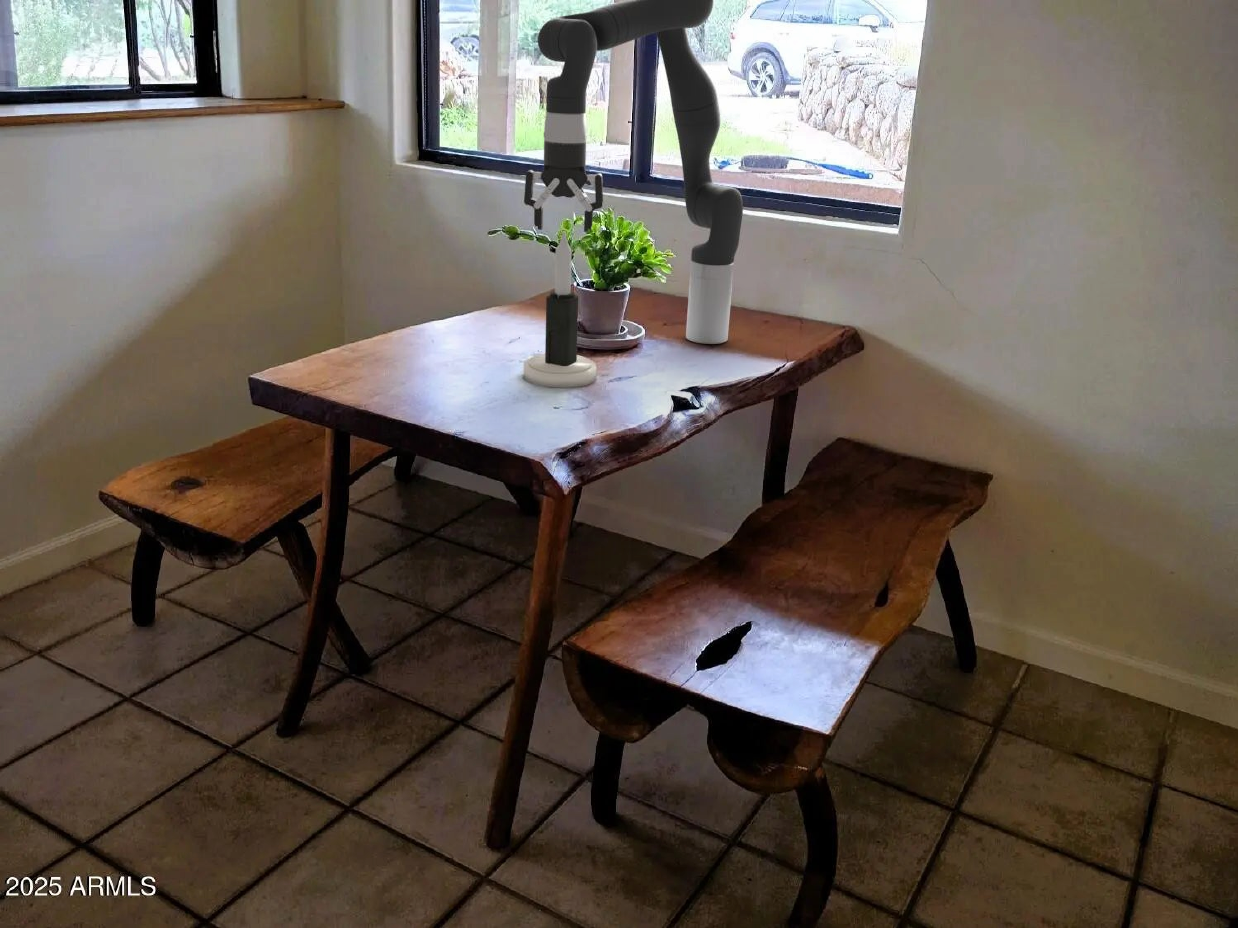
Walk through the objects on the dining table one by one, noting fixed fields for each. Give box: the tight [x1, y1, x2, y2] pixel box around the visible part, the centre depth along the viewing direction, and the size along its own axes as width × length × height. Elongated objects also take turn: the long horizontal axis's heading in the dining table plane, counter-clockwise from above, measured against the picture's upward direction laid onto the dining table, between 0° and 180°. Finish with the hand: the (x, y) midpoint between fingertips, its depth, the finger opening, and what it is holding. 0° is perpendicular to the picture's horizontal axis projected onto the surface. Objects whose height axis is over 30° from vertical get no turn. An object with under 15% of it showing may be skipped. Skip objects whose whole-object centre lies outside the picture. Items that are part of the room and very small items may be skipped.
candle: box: [544, 230, 579, 366], centre depth 212 cm, size 5×5×25 cm
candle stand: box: [523, 353, 597, 389], centre depth 217 cm, size 14×14×3 cm
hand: (563, 230), depth 207 cm, fingers open, 8 cm apart
